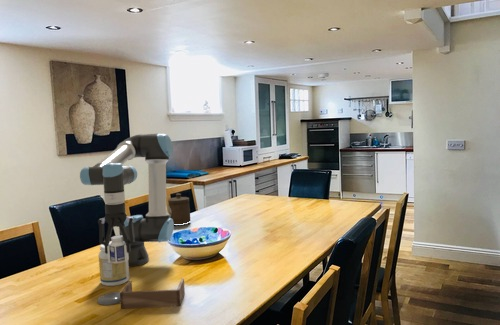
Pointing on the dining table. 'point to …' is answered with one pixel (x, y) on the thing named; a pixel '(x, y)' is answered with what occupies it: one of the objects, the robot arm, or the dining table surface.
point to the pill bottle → (117, 249)
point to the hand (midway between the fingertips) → (118, 260)
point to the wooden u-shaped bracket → (151, 297)
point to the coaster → (109, 298)
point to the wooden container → (179, 209)
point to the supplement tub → (112, 270)
